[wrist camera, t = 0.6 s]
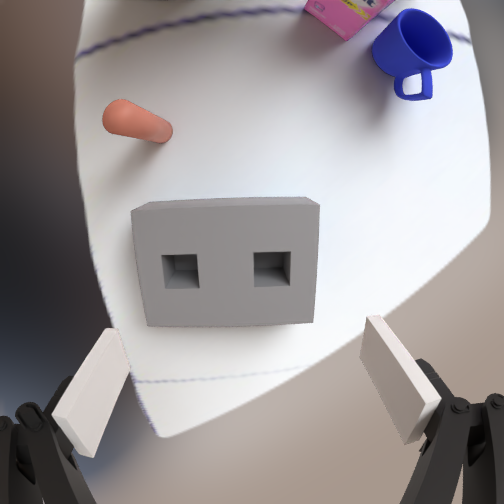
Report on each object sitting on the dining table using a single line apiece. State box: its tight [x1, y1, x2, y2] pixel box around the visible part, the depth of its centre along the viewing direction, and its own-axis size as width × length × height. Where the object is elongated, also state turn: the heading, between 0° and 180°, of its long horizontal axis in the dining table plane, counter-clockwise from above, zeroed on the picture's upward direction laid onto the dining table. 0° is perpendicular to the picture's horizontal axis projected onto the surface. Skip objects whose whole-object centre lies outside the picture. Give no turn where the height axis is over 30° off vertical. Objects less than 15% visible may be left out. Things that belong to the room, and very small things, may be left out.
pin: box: [102, 99, 173, 143], centre depth 27 cm, size 3×3×14 cm
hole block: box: [131, 197, 320, 327], centre depth 35 cm, size 20×14×7 cm
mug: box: [372, 8, 453, 101], centre depth 27 cm, size 8×12×10 cm
